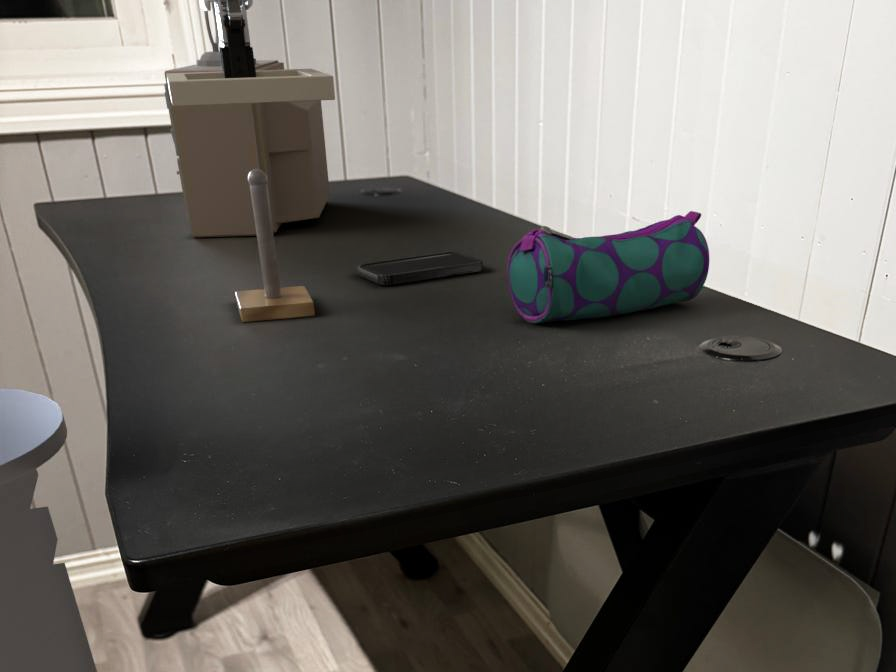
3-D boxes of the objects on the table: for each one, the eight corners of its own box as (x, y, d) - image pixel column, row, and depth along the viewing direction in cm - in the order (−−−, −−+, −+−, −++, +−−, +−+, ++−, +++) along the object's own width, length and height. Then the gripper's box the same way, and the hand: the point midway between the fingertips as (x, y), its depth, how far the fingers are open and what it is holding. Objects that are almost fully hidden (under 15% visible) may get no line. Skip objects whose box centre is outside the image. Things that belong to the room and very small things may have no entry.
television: (222, 200, 173) (181, -71, 151) (333, 197, 174) (308, -73, 152) (182, 238, 143) (123, -93, 121) (316, 235, 144) (282, -95, 122)
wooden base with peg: (242, 322, 103) (219, 176, 95) (236, 304, 109) (215, 166, 101) (315, 315, 104) (299, 171, 96) (305, 298, 111) (289, 162, 103)
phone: (354, 265, 120) (455, 250, 126) (355, 274, 120) (456, 259, 127) (381, 277, 114) (486, 261, 121) (382, 286, 115) (486, 270, 121)
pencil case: (542, 335, 97) (545, 236, 91) (505, 315, 103) (505, 221, 98) (708, 310, 104) (719, 217, 98) (663, 293, 110) (671, 204, 105)
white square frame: (172, 106, 87) (168, 81, 86) (170, 95, 99) (166, 73, 98) (335, 99, 90) (333, 75, 89) (313, 89, 102) (311, 68, 101)
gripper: (169, -122, 95) (202, 88, 105) (171, -143, 82) (209, 98, 93) (244, -121, 97) (269, 85, 107) (258, -142, 84) (285, 95, 94)
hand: (241, 90), depth 100 cm, fingers closed on white square frame, 1 cm apart
